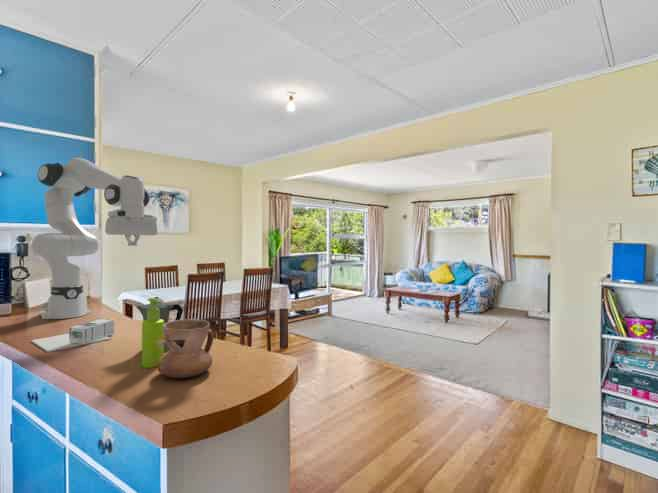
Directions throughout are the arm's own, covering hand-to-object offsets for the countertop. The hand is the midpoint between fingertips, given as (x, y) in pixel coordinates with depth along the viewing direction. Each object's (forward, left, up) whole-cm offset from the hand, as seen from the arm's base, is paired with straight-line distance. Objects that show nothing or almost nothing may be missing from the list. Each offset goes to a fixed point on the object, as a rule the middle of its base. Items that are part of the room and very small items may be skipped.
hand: (132, 245), depth 151 cm
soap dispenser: (+54, -18, -34) cm, 66 cm away
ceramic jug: (+67, -15, -34) cm, 77 cm away
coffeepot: (+42, -10, -34) cm, 55 cm away
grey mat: (+8, -24, -34) cm, 43 cm away
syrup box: (+9, -13, -31) cm, 35 cm away
